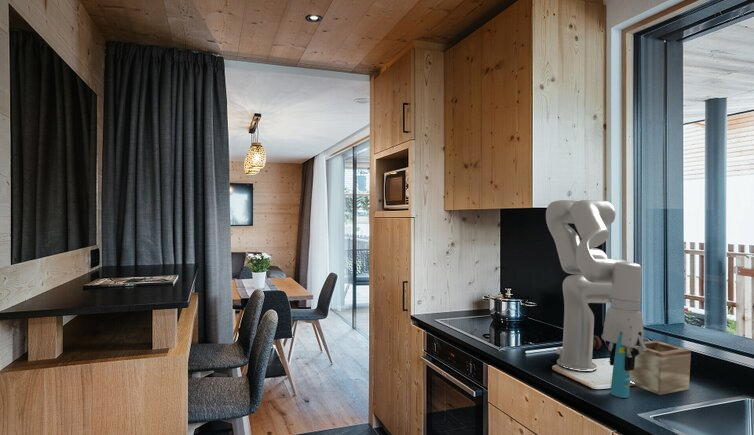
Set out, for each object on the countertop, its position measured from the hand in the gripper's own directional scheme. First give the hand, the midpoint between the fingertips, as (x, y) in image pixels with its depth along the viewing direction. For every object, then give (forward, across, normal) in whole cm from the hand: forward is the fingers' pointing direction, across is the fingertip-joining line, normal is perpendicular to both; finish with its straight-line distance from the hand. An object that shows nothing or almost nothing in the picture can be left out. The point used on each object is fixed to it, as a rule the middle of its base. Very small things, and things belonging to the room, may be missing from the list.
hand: (621, 366), depth 140 cm
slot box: (+8, -2, +19) cm, 21 cm away
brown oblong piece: (+9, -38, +28) cm, 48 cm away
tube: (+9, 0, 0) cm, 9 cm away
